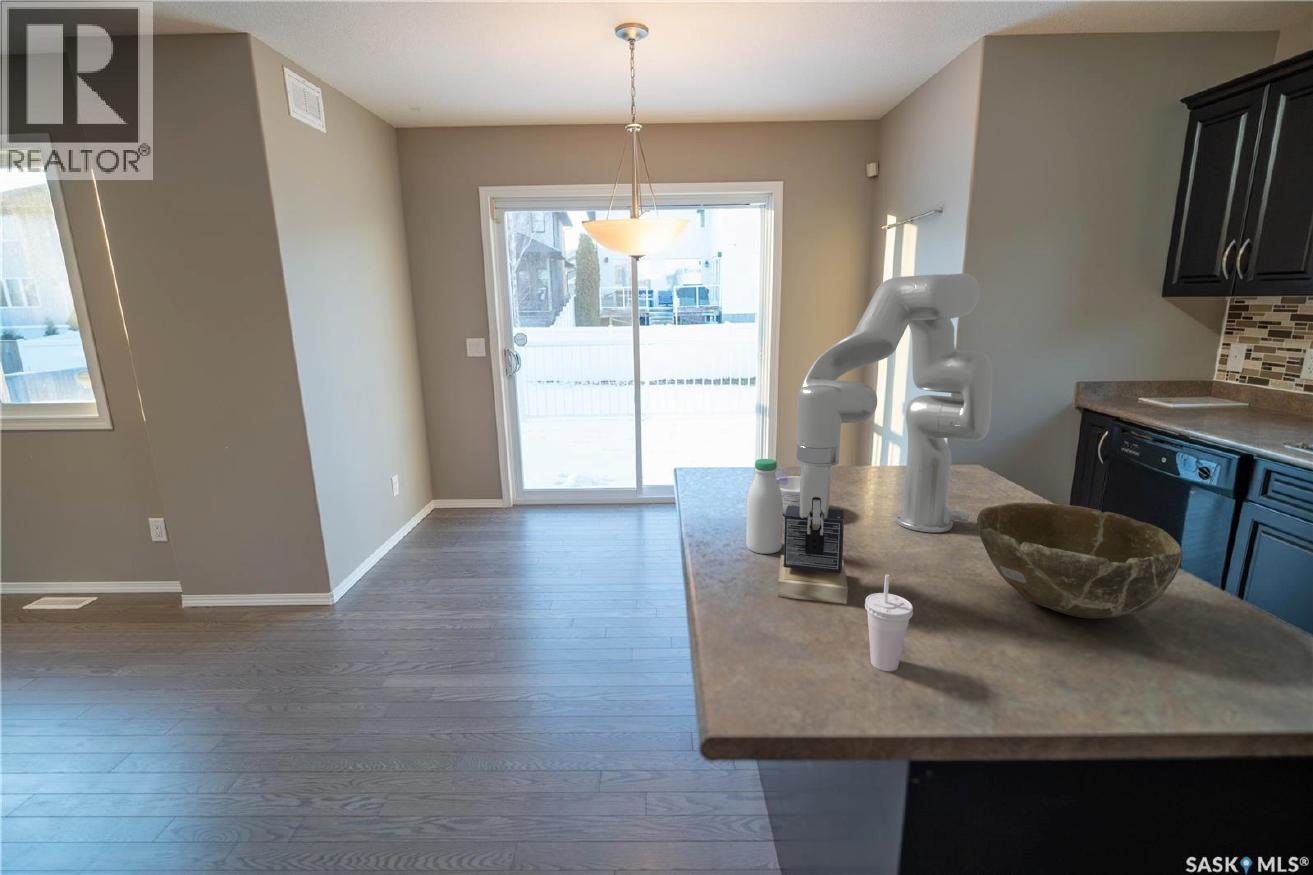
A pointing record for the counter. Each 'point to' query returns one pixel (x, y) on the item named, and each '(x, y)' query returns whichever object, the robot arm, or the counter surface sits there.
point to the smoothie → (887, 627)
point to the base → (812, 584)
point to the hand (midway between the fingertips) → (813, 545)
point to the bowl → (1079, 557)
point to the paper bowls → (789, 491)
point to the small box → (797, 536)
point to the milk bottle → (764, 510)
